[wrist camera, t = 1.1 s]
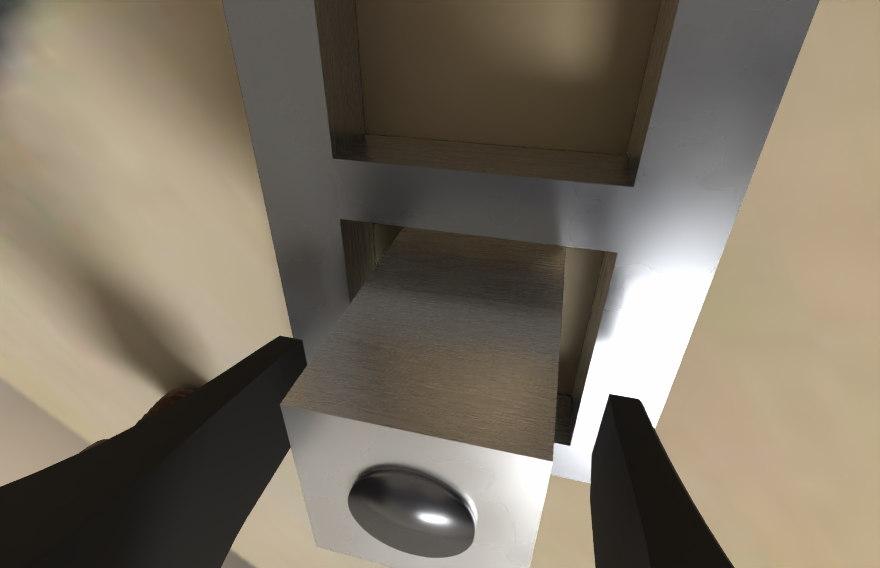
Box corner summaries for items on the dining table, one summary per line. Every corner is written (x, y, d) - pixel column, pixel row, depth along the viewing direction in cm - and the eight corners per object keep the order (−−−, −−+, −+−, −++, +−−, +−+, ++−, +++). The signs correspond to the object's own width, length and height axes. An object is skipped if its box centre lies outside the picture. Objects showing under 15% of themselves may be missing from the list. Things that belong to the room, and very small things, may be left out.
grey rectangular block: (566, 243, 13) (552, 470, 7) (544, 367, 15) (521, 610, 9) (405, 223, 14) (275, 411, 8) (409, 344, 16) (313, 553, 10)
